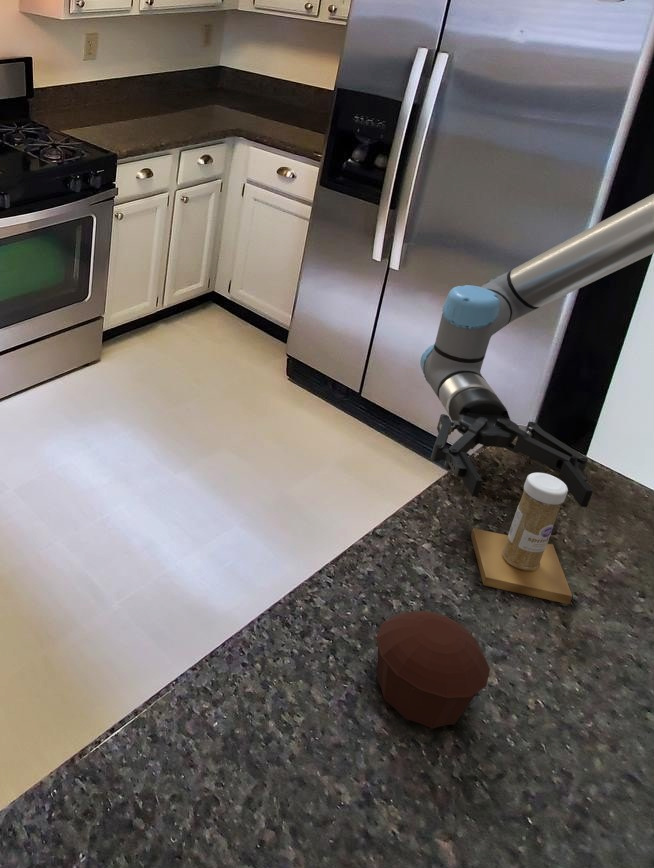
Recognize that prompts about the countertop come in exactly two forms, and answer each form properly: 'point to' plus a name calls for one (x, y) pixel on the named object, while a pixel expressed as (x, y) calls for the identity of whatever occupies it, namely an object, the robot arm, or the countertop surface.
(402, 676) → the muffin
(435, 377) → the robot arm
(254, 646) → the countertop surface
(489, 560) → the cutting board
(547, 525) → the sprinkles bottle
